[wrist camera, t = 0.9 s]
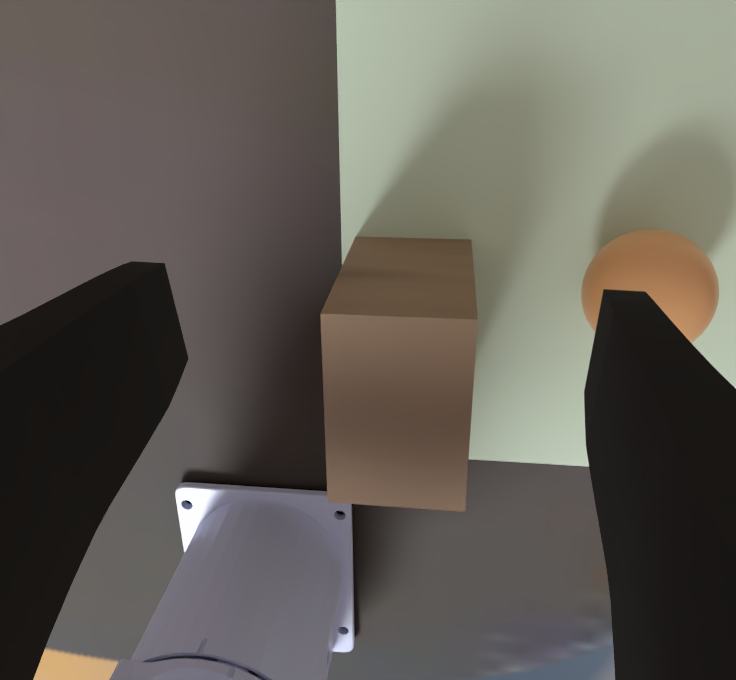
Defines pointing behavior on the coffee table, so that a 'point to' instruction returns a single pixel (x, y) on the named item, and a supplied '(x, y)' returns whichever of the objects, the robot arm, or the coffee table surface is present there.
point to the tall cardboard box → (400, 373)
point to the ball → (656, 277)
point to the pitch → (540, 172)
